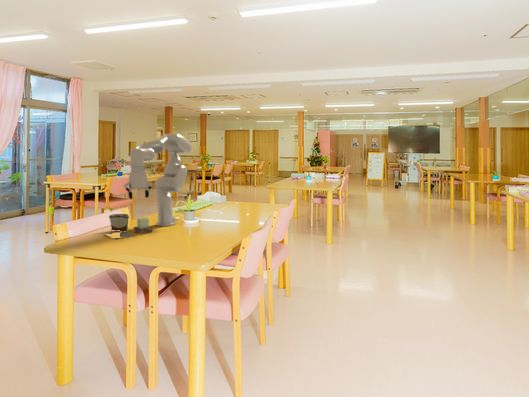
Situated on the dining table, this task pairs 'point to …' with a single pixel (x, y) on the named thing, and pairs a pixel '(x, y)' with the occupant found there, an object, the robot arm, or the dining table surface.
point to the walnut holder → (143, 230)
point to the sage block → (143, 223)
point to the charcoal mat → (125, 234)
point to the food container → (119, 222)
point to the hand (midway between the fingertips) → (139, 198)
